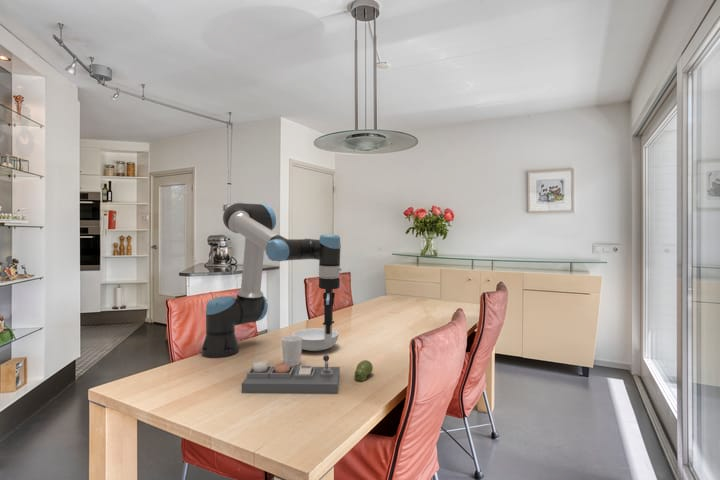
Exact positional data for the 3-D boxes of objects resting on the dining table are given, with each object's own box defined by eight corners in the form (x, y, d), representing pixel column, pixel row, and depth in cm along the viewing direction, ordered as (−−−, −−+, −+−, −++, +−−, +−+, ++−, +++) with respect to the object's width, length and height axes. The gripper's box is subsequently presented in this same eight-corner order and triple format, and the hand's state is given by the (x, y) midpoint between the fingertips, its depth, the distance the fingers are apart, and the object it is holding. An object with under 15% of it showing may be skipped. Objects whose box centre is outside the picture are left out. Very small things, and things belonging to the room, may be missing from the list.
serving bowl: (341, 342, 182) (341, 328, 182) (334, 357, 161) (334, 340, 161) (298, 340, 184) (298, 326, 184) (285, 354, 163) (285, 338, 163)
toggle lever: (323, 368, 134) (322, 353, 128) (330, 368, 134) (329, 353, 129) (323, 373, 132) (322, 358, 127) (330, 373, 132) (329, 358, 127)
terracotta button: (276, 370, 135) (276, 363, 135) (290, 370, 135) (290, 363, 135) (273, 376, 130) (273, 368, 130) (288, 376, 130) (288, 368, 130)
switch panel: (254, 374, 141) (254, 361, 140) (339, 375, 141) (339, 362, 141) (241, 392, 125) (241, 378, 124) (337, 393, 125) (337, 379, 125)
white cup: (297, 367, 148) (297, 341, 148) (278, 365, 150) (278, 340, 149) (304, 360, 156) (304, 336, 156) (286, 359, 157) (286, 335, 157)
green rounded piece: (374, 359, 142) (365, 372, 133) (375, 372, 143) (365, 386, 134) (360, 356, 144) (350, 369, 135) (361, 369, 145) (350, 383, 136)
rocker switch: (300, 368, 135) (300, 365, 135) (311, 368, 135) (311, 365, 135) (298, 376, 130) (298, 373, 130) (310, 376, 130) (310, 374, 130)
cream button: (255, 367, 135) (255, 360, 135) (269, 367, 135) (269, 360, 135) (251, 372, 130) (251, 365, 130) (265, 373, 130) (265, 365, 130)
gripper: (338, 279, 132) (337, 347, 133) (340, 275, 145) (339, 336, 146) (317, 279, 132) (315, 347, 133) (320, 274, 145) (319, 336, 146)
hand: (328, 341), depth 140 cm, fingers closed
